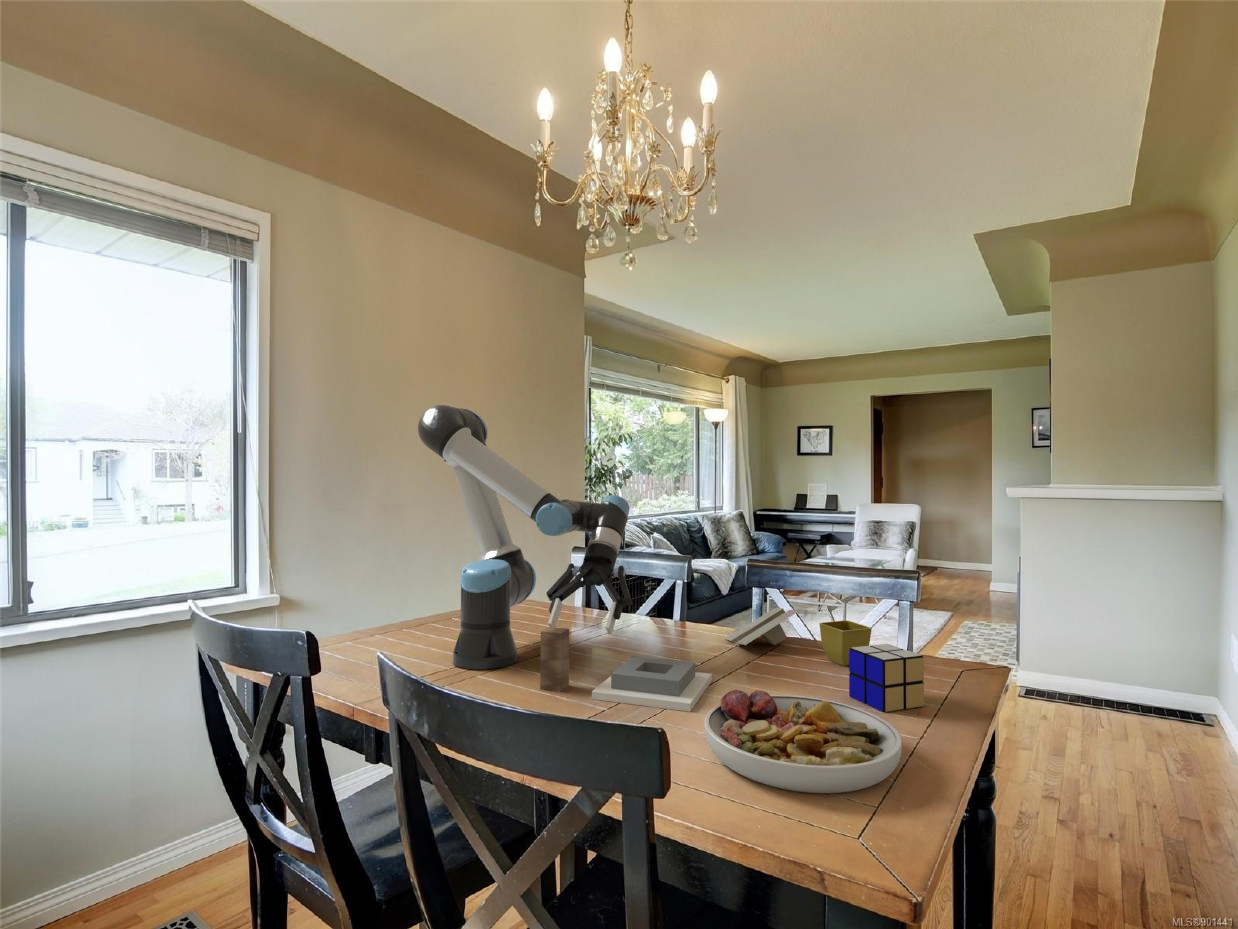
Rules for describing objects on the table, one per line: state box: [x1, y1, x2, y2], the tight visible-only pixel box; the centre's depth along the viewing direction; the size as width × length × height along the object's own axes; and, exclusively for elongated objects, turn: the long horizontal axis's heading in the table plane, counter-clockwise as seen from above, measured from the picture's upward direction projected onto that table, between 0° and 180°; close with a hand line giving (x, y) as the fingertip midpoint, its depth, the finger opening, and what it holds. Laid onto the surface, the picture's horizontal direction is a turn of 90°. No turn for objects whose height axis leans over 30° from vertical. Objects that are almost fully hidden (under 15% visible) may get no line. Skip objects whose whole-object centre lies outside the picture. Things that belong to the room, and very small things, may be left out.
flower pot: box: [819, 620, 872, 667], centre depth 158 cm, size 9×9×9 cm
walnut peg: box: [539, 626, 570, 693], centre depth 138 cm, size 4×4×12 cm
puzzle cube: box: [848, 643, 925, 714], centre depth 130 cm, size 10×10×10 cm
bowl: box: [704, 689, 903, 794], centre depth 105 cm, size 30×30×8 cm
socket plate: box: [591, 655, 713, 713], centre depth 137 cm, size 20×20×4 cm
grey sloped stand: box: [724, 607, 800, 647], centre depth 174 cm, size 19×10×17 cm
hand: (579, 629), depth 145 cm, fingers open, 13 cm apart
